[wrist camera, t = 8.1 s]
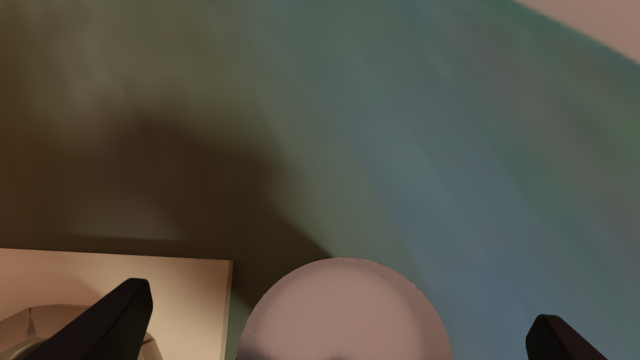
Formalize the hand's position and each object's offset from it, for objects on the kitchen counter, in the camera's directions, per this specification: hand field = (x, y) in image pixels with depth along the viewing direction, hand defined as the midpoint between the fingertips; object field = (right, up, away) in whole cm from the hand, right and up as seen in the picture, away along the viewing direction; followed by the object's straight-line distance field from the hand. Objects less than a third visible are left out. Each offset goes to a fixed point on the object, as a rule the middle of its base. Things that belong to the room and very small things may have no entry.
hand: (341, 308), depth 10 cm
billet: (0, -3, +8) cm, 8 cm away
